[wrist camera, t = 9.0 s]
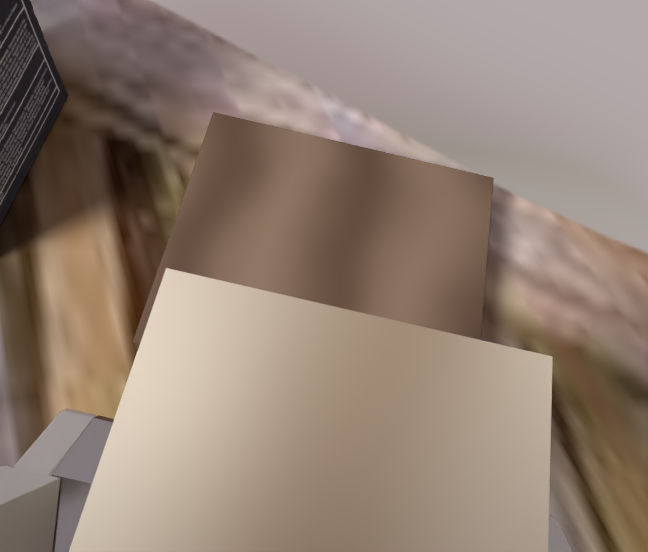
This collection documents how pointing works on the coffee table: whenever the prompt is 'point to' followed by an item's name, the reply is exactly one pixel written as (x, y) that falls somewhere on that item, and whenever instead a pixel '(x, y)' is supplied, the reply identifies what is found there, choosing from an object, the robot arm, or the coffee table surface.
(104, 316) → the coffee table surface
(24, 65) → the small box
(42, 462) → the robot arm
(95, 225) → the coffee table surface
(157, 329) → the birch block
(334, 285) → the walnut board
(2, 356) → the coffee table surface
